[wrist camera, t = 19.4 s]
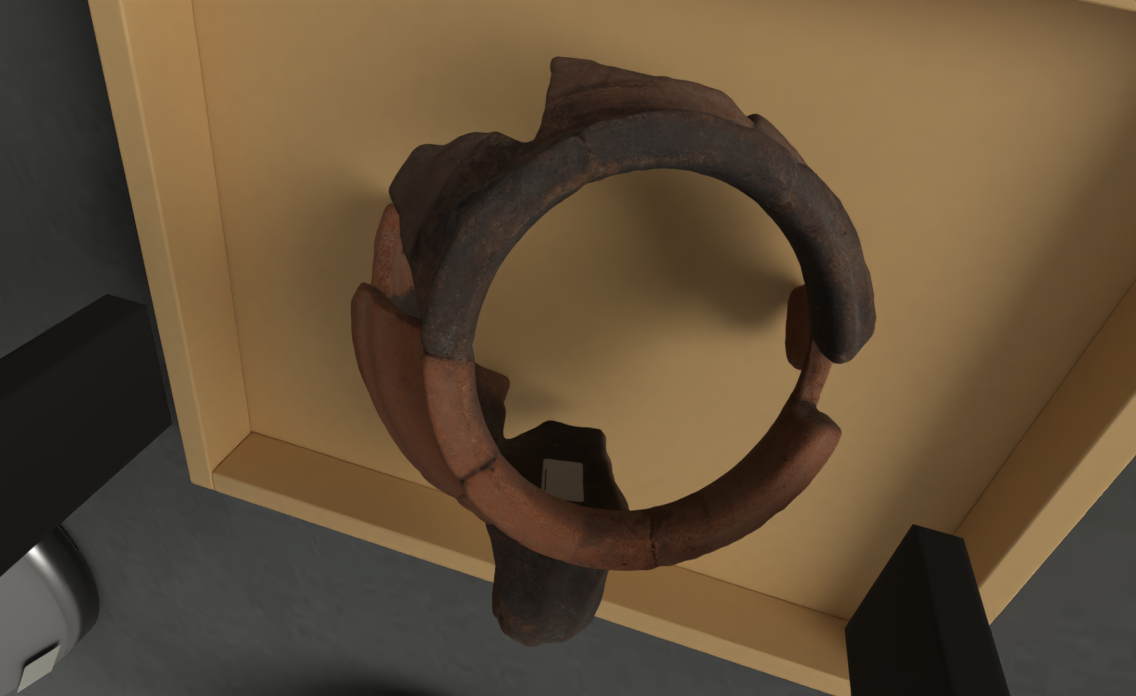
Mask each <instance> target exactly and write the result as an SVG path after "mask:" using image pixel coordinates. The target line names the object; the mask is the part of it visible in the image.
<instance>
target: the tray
mask: <svg viewBox="0 0 1136 696" xmlns="http://www.w3.org/2000/svg"><path fill="white" fill-rule="evenodd" d="M88 4H89V9H90V13H91V18H92V23H93V27H94V32H95V37H96V41H97V46H98V51H99V55H100V60H101V65H102V69H103V74H104V79H105V83H106V88H107V93H108V97H109V102H110V106H111V111H112V116H113V120H114V125H115V130H116V134H117V139H118V144H119V148H120V153H121V158H122V162H123V167H124V172H125V176H126V181H127V186H128V190H129V195H130V200H131V204H132V209H133V214H134V218H135V223H136V228H137V232H138V237H139V242H140V246H141V251H142V256H143V260H144V265H145V270H146V274H147V279H148V283H149V288H150V293H151V297H152V302H153V307H154V311H155V316H156V321H157V325H158V330H159V335H160V339H161V344H162V349H163V353H164V358H165V363H166V367H167V372H168V377H169V381H170V386H171V391H172V395H173V400H174V405H175V409H176V414H177V419H178V423H179V428H180V433H181V437H182V442H183V446H184V451H185V456H186V460H187V465H188V470H189V474H190V479H191V482H192V483H194V484H197V485H200V486H203V487H206V488H209V489H212V490H213V489H215V490H216V491H218V492H221V493H224V494H227V495H230V496H233V497H236V498H239V499H242V500H245V501H248V502H251V503H254V504H257V505H260V506H263V507H266V508H269V509H272V510H275V511H278V512H281V513H284V514H288V515H291V516H294V517H297V518H300V519H303V520H306V521H309V522H312V523H315V524H318V525H321V526H324V527H327V528H330V529H333V530H336V531H339V532H342V533H345V534H348V535H351V536H354V537H357V538H360V539H363V540H366V541H369V542H372V543H375V544H378V545H381V546H384V547H387V548H390V549H393V550H396V551H399V552H402V553H405V554H408V555H411V556H414V557H418V558H421V559H424V560H427V561H430V562H433V563H436V564H439V565H442V566H445V567H448V568H451V569H454V570H457V571H460V572H463V573H466V574H469V575H472V576H475V577H478V578H481V579H484V580H487V581H490V582H493V583H494V573H495V560H494V556H493V550H492V545H491V540H490V537H489V534H488V532H487V529H486V524H485V522H483V521H482V520H480V519H479V518H478V517H477V516H476V515H475V514H474V513H473V512H471V511H469V510H467V509H466V508H464V507H463V506H462V505H460V504H459V503H458V501H457V499H455V498H454V497H451V496H449V495H447V494H446V493H444V492H443V491H441V490H439V489H437V488H436V487H434V486H433V485H431V484H430V483H429V482H428V481H426V480H425V479H424V477H423V476H422V475H421V473H420V471H418V470H417V469H416V468H415V467H414V466H413V465H412V464H411V463H410V462H409V461H408V460H407V458H406V457H405V456H404V455H403V453H402V452H401V451H400V449H399V448H398V446H397V445H396V444H395V442H394V441H393V439H392V437H391V436H390V434H389V433H388V431H387V429H386V427H385V425H384V424H383V422H382V421H381V419H380V417H379V415H378V413H377V411H376V409H375V407H374V405H373V402H372V400H371V397H370V394H369V392H368V390H367V388H366V386H365V384H364V381H363V379H362V376H361V374H360V371H359V368H358V364H357V360H356V356H355V351H354V346H353V342H352V332H351V300H352V298H353V295H354V294H355V292H356V290H357V288H358V287H359V285H360V283H363V282H365V283H368V284H371V279H372V265H373V257H374V240H375V236H376V232H377V229H378V226H379V223H380V220H381V217H382V214H383V211H384V209H385V207H386V206H387V205H388V204H390V203H393V202H392V200H391V198H390V196H389V187H390V185H391V183H392V181H393V179H394V177H395V176H396V174H397V172H398V171H399V169H400V168H401V167H402V165H403V164H404V162H405V161H406V160H407V158H408V157H409V155H410V154H411V152H412V151H413V150H414V149H415V148H416V147H418V146H419V145H423V144H435V145H445V144H448V143H449V142H451V141H453V140H454V139H456V138H457V137H459V136H462V135H465V134H468V133H471V132H483V133H489V132H494V131H496V132H500V133H502V134H504V135H506V136H509V137H511V138H513V139H515V140H518V141H520V142H529V141H532V140H533V139H534V138H535V136H536V134H537V132H538V130H539V128H540V125H541V121H542V116H543V113H544V110H545V103H546V93H547V90H548V87H549V84H550V78H551V71H550V63H551V60H552V59H553V58H554V57H557V56H559V57H570V58H579V59H587V60H593V61H595V62H597V63H599V64H603V65H606V66H613V67H618V68H621V69H626V70H630V71H635V72H639V73H643V74H648V75H652V76H667V77H670V78H673V79H680V80H688V81H691V82H696V83H699V84H702V85H705V86H708V87H711V88H714V89H718V90H720V91H722V92H724V93H725V94H727V95H728V96H729V97H730V98H731V99H732V100H733V101H734V102H735V103H736V105H737V106H738V107H739V109H740V110H741V111H742V112H743V113H744V114H745V115H746V116H748V115H751V114H759V115H761V116H763V117H765V118H766V119H767V120H768V121H769V122H770V123H771V124H772V125H774V126H775V127H776V128H777V129H778V130H779V132H780V133H781V134H782V135H783V136H784V137H785V138H786V139H787V140H788V142H789V143H790V144H791V145H792V146H793V147H794V148H795V149H796V150H797V151H798V153H799V154H800V155H801V156H802V158H803V159H804V161H805V162H806V164H807V165H808V167H810V168H811V169H812V170H813V171H814V172H815V173H816V174H817V175H818V176H819V177H820V178H821V179H822V180H823V181H824V182H825V183H826V184H827V186H828V187H829V188H830V189H831V191H832V192H833V193H834V194H835V195H836V196H837V197H838V198H839V199H840V200H841V203H842V205H843V207H844V209H845V210H846V212H847V213H848V215H849V217H850V219H851V221H852V223H853V225H854V227H855V229H856V231H857V234H858V236H859V239H860V243H861V247H862V251H863V255H864V260H865V262H866V265H867V267H868V269H869V271H870V275H871V280H872V286H873V291H874V304H875V311H876V323H875V330H874V334H873V335H872V337H871V338H870V339H869V341H868V342H867V343H866V344H865V345H864V346H863V347H862V348H861V350H860V351H859V352H858V353H857V355H856V356H855V357H854V358H853V359H852V360H851V361H849V362H846V363H843V364H835V363H833V365H832V367H831V369H830V372H829V375H828V377H827V380H826V382H825V385H824V387H823V390H822V392H821V394H820V399H819V401H818V404H817V409H818V410H819V411H820V412H823V413H825V414H826V415H828V416H829V417H830V418H831V419H832V420H833V421H834V422H835V423H836V424H837V425H838V426H839V427H840V428H841V431H842V434H841V437H840V439H839V443H838V444H837V446H836V448H835V450H834V452H833V453H832V455H831V456H830V458H829V459H828V461H827V463H826V464H825V465H824V466H823V467H822V469H821V470H820V472H819V473H818V474H817V475H816V476H815V478H814V479H813V480H812V482H811V483H810V484H809V486H808V487H807V488H806V489H805V490H804V491H803V492H802V493H801V494H800V495H798V496H797V497H796V498H795V499H794V500H793V501H792V502H791V503H790V504H789V505H788V506H787V507H786V508H785V509H784V510H782V511H780V512H778V513H777V514H775V515H774V516H773V517H772V518H771V519H769V520H768V521H767V522H766V523H765V524H764V525H763V526H762V527H761V528H759V529H757V530H756V531H754V532H752V533H750V534H748V535H746V536H745V537H743V538H742V539H740V540H738V541H736V542H734V543H732V544H730V545H728V546H726V547H722V548H720V549H718V550H716V551H714V552H711V553H709V554H705V555H703V556H701V557H699V558H697V559H693V560H688V561H684V562H681V563H678V564H675V565H672V566H660V567H656V568H655V569H652V570H637V571H612V570H609V572H608V574H607V578H606V582H605V587H604V593H603V597H602V600H601V603H600V605H599V608H598V610H597V611H596V613H595V616H596V617H599V618H602V619H605V620H608V621H611V622H614V623H617V624H620V625H623V626H626V627H629V628H632V629H635V630H638V631H641V632H644V633H647V634H650V635H653V636H656V637H659V638H662V639H665V640H668V641H671V642H675V643H678V644H681V645H684V646H687V647H690V648H693V649H696V650H699V651H702V652H705V653H708V654H711V655H714V656H717V657H720V658H723V659H726V660H729V661H732V662H735V663H738V664H741V665H744V666H747V667H750V668H753V669H756V670H759V671H762V672H765V673H768V674H771V675H774V676H777V677H780V678H783V679H786V680H789V681H792V682H795V683H798V684H801V685H805V686H808V687H811V688H814V689H817V690H820V691H823V692H826V693H829V694H832V695H835V696H851V690H850V680H849V670H848V660H847V649H846V639H845V629H844V628H845V627H846V625H847V624H848V622H849V621H850V619H851V618H852V616H853V614H854V613H855V611H856V610H857V608H858V607H859V605H860V604H861V602H862V601H863V599H864V598H865V596H866V595H867V593H868V592H869V590H870V588H871V587H872V585H873V584H874V582H875V581H876V579H877V578H878V576H879V575H880V573H881V572H882V570H883V569H884V567H885V565H886V564H887V562H888V561H889V559H890V558H891V556H892V555H893V553H894V552H895V550H896V549H897V547H898V546H899V544H900V543H901V541H902V539H903V538H904V536H905V535H906V533H907V532H908V530H909V529H910V527H911V526H912V524H915V525H918V526H922V527H925V528H929V529H933V530H936V531H940V532H943V533H947V534H950V535H954V536H957V537H961V538H964V542H965V545H966V548H967V552H968V555H969V558H970V562H971V565H972V569H973V572H974V575H975V579H976V582H977V585H978V589H979V592H980V596H981V599H982V602H983V606H984V609H985V613H986V616H987V619H988V623H989V625H990V624H991V623H992V622H993V621H994V619H995V618H996V617H997V616H998V615H999V614H1000V612H1001V611H1002V610H1003V609H1004V608H1005V607H1006V605H1007V604H1008V603H1009V602H1010V601H1011V600H1012V598H1013V597H1014V596H1015V595H1016V594H1017V593H1018V591H1019V590H1020V589H1021V588H1022V587H1023V586H1024V584H1025V583H1026V582H1027V581H1028V580H1029V579H1030V577H1031V576H1032V575H1033V574H1034V573H1035V572H1036V570H1037V569H1038V568H1039V567H1040V566H1041V565H1042V563H1043V562H1044V561H1045V560H1046V559H1047V558H1048V556H1049V555H1050V554H1051V553H1052V552H1053V551H1054V549H1055V548H1056V547H1057V546H1058V545H1059V544H1060V542H1061V541H1062V540H1063V539H1064V538H1065V537H1066V535H1067V534H1068V533H1069V532H1070V531H1071V530H1072V528H1073V527H1074V526H1075V525H1076V524H1077V523H1078V521H1079V520H1080V519H1081V518H1082V517H1083V516H1084V514H1085V513H1086V512H1087V511H1088V510H1089V509H1090V507H1091V506H1092V505H1093V504H1094V503H1095V502H1096V500H1097V499H1098V498H1099V497H1100V496H1101V495H1102V493H1103V492H1104V491H1105V490H1106V489H1107V488H1108V486H1109V485H1110V484H1111V483H1112V482H1113V481H1114V479H1115V478H1116V477H1117V476H1118V475H1119V474H1120V473H1121V471H1122V470H1123V469H1124V468H1125V467H1126V466H1127V464H1128V463H1129V462H1130V461H1131V460H1132V459H1133V457H1134V456H1135V455H1136V0H88ZM803 284H805V283H804V280H803V275H802V271H801V267H800V264H799V262H798V260H797V257H796V254H795V253H794V251H793V249H792V247H791V245H790V243H789V241H788V240H787V238H786V237H785V236H784V234H783V232H782V231H781V230H780V228H779V227H778V226H777V225H776V223H775V222H774V221H773V220H772V218H771V217H770V216H768V215H767V214H766V212H765V211H764V210H763V209H762V208H761V207H760V206H759V204H758V203H756V202H755V201H754V200H753V199H751V198H750V197H748V196H747V195H745V194H744V193H742V192H741V191H739V190H738V189H736V188H735V187H733V186H731V185H729V184H727V183H725V182H723V181H721V180H718V179H715V178H712V177H709V176H706V175H701V174H698V173H696V172H692V171H686V170H677V169H651V170H645V171H639V170H638V171H632V172H629V173H623V174H618V175H614V176H610V177H607V178H605V179H603V180H600V181H596V182H592V183H588V184H586V185H584V186H583V187H582V188H581V189H580V190H578V191H577V192H576V193H574V194H573V195H571V196H570V197H568V198H566V199H565V200H564V201H562V202H561V203H559V204H558V205H556V206H555V207H553V208H552V209H551V210H550V211H548V212H547V213H546V214H545V215H544V216H542V217H541V218H540V219H539V220H538V221H537V222H536V223H535V224H534V225H533V226H532V227H531V228H530V229H529V230H528V231H527V232H526V233H525V234H524V236H523V237H522V238H521V239H520V240H519V242H518V243H517V244H516V245H515V246H514V247H513V249H512V250H511V251H510V253H509V254H508V255H507V257H506V258H505V260H504V261H503V262H502V264H501V265H500V267H499V269H498V271H497V272H496V274H495V276H494V279H493V281H492V283H491V285H490V287H489V289H488V291H487V294H486V297H485V299H484V302H483V305H482V307H481V310H480V314H479V318H478V322H477V326H476V330H475V336H474V340H473V344H472V347H473V352H474V358H475V362H476V363H477V364H479V365H480V366H482V367H484V368H487V369H489V370H492V371H494V372H497V373H499V374H502V375H504V376H507V377H508V379H509V381H510V387H509V390H508V393H507V396H506V399H505V401H504V404H505V408H506V418H505V424H504V437H505V438H506V439H511V438H514V437H516V436H518V435H519V434H521V433H524V432H526V431H528V430H531V429H533V428H535V427H537V426H539V425H540V424H541V423H543V422H545V421H549V420H553V421H557V422H562V423H564V424H567V425H571V426H578V427H591V428H597V429H601V430H602V431H603V433H604V434H605V436H606V450H607V454H608V456H609V457H610V459H611V462H612V468H613V474H614V478H615V482H616V484H617V485H618V487H619V489H620V490H621V492H622V493H623V495H624V497H625V498H626V500H627V503H628V506H629V510H630V511H632V510H640V509H647V508H651V507H654V506H660V505H664V504H667V503H670V502H673V501H676V500H678V499H680V498H683V497H685V496H687V495H689V494H692V493H694V492H696V491H699V490H700V489H702V488H704V487H705V486H707V485H709V484H710V483H712V482H714V481H715V480H717V479H718V478H719V477H721V476H722V475H724V474H725V473H727V472H728V471H729V470H731V469H732V468H733V467H734V466H735V465H736V464H737V463H738V462H740V461H741V460H742V459H743V458H744V457H745V456H746V455H747V454H748V453H749V452H750V451H751V450H752V449H753V448H754V446H755V445H756V444H757V443H758V442H759V441H760V440H761V439H762V438H763V436H764V435H765V434H766V433H767V432H768V430H769V428H770V427H771V426H772V424H773V423H774V422H775V420H776V419H777V417H778V415H779V414H780V412H781V410H782V408H783V406H784V405H785V403H786V401H787V400H788V398H789V396H790V395H791V393H792V391H793V390H794V388H795V386H796V383H797V381H798V378H799V376H800V373H801V370H797V369H795V368H794V367H793V366H792V365H791V364H790V363H789V362H788V360H787V357H786V350H785V330H786V318H787V303H788V300H789V296H790V293H791V292H792V290H793V289H794V288H796V287H797V286H801V285H803Z"/></svg>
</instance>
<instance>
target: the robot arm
mask: <svg viewBox="0 0 1136 696" xmlns="http://www.w3.org/2000/svg"><path fill="white" fill-rule="evenodd" d="M171 424H172V422H171V418H170V413H169V408H168V404H167V399H166V394H165V390H164V385H163V381H162V376H161V371H160V367H159V362H158V358H157V353H156V348H155V344H154V339H153V334H152V330H151V325H150V321H149V316H148V311H147V307H146V305H144V304H140V303H137V302H133V301H130V300H126V299H123V298H119V297H116V296H112V295H109V294H106V295H104V296H103V297H101V298H99V299H98V300H96V301H95V302H93V303H91V304H90V305H88V306H86V307H85V308H83V309H81V310H80V311H78V312H76V313H75V314H73V315H72V316H70V317H68V318H67V319H65V320H63V321H62V322H60V323H58V324H57V325H55V326H53V327H52V328H50V329H49V330H47V331H45V332H44V333H42V334H40V335H39V336H37V337H35V338H34V339H32V340H30V341H29V342H27V343H26V344H24V345H22V346H21V347H19V348H17V349H16V350H14V351H12V352H11V353H9V354H7V355H6V356H4V357H3V358H1V359H0V696H5V695H6V694H8V693H9V692H11V691H12V690H13V689H15V688H16V687H18V686H19V689H18V692H20V691H21V690H23V689H24V688H26V687H27V686H29V685H30V684H32V683H33V682H35V681H37V680H38V679H40V678H41V677H43V676H44V675H46V674H47V673H49V672H50V671H52V668H53V665H54V664H56V663H58V662H59V661H61V660H62V659H63V658H64V657H65V656H66V655H67V654H68V653H69V652H70V650H71V649H72V648H73V647H74V646H75V645H76V644H77V643H78V642H79V641H80V640H81V639H82V638H83V637H84V636H85V635H86V633H87V632H88V631H89V630H90V629H91V628H92V627H93V625H94V624H95V622H96V620H97V618H98V613H99V599H98V594H97V590H96V587H95V584H94V581H93V578H92V576H91V574H90V572H89V570H88V568H87V566H86V564H85V562H84V560H83V559H82V557H81V555H80V554H79V552H78V551H77V549H76V548H75V546H74V545H73V543H72V542H71V541H70V539H69V538H68V537H67V535H66V534H65V533H64V532H63V530H62V529H61V528H60V527H59V526H58V525H59V524H60V523H61V522H63V521H64V520H65V519H66V518H67V517H68V516H69V515H70V514H72V513H73V512H74V511H75V510H76V509H77V508H78V507H79V506H81V505H82V504H83V503H84V502H85V501H86V500H87V499H88V498H90V497H91V496H92V495H93V494H94V493H95V492H96V491H97V490H98V489H100V488H101V487H102V486H103V485H104V484H105V483H106V482H107V481H109V480H110V479H111V478H112V477H113V476H114V475H115V474H116V473H118V472H119V471H120V470H121V469H122V468H123V467H124V466H125V465H127V464H128V463H129V462H130V461H131V460H132V459H133V458H134V457H135V456H137V455H138V454H139V453H140V452H141V451H142V450H143V449H144V448H146V447H147V446H148V445H149V444H150V443H151V442H152V441H153V440H155V439H156V438H157V437H158V436H159V435H160V434H161V433H162V432H164V431H165V430H166V429H167V428H168V427H169V426H170V425H171ZM844 629H845V639H846V649H847V660H848V670H849V680H850V690H851V696H1010V694H1009V690H1008V687H1007V684H1006V680H1005V677H1004V673H1003V670H1002V667H1001V663H1000V660H999V657H998V653H997V650H996V646H995V643H994V640H993V636H992V633H991V629H990V626H989V623H988V619H987V616H986V613H985V609H984V606H983V602H982V599H981V596H980V592H979V589H978V585H977V582H976V579H975V575H974V572H973V569H972V565H971V562H970V558H969V555H968V552H967V548H966V545H965V542H964V538H961V537H957V536H954V535H950V534H947V533H943V532H940V531H936V530H933V529H929V528H925V527H922V526H918V525H915V524H912V526H911V527H910V529H909V530H908V532H907V533H906V535H905V536H904V538H903V539H902V541H901V543H900V544H899V546H898V547H897V549H896V550H895V552H894V553H893V555H892V556H891V558H890V559H889V561H888V562H887V564H886V565H885V567H884V569H883V570H882V572H881V573H880V575H879V576H878V578H877V579H876V581H875V582H874V584H873V585H872V587H871V588H870V590H869V592H868V593H867V595H866V596H865V598H864V599H863V601H862V602H861V604H860V605H859V607H858V608H857V610H856V611H855V613H854V614H853V616H852V618H851V619H850V621H849V622H848V624H847V625H846V627H845V628H844ZM18 692H17V693H18Z"/></svg>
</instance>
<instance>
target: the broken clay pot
mask: <svg viewBox="0 0 1136 696" xmlns="http://www.w3.org/2000/svg"><path fill="white" fill-rule="evenodd" d="M550 71H551V78H550V84H549V87H548V90H547V93H546V103H545V110H544V113H543V116H542V121H541V125H540V128H539V130H538V132H537V134H536V136H535V138H534V139H533V140H532V141H529V142H520V141H518V140H515V139H513V138H511V137H509V136H506V135H504V134H502V133H500V132H496V131H494V132H489V133H483V132H471V133H468V134H465V135H462V136H459V137H457V138H456V139H454V140H453V141H451V142H449V143H448V144H445V145H435V144H423V145H419V146H418V147H416V148H415V149H414V150H413V151H412V152H411V154H410V155H409V157H408V158H407V160H406V161H405V162H404V164H403V165H402V167H401V168H400V169H399V171H398V172H397V174H396V176H395V177H394V179H393V181H392V183H391V185H390V187H389V196H390V198H391V200H392V202H393V203H390V204H388V205H387V206H386V207H385V209H384V211H383V214H382V217H381V220H380V223H379V226H378V229H377V232H376V236H375V240H374V257H373V265H372V279H371V284H368V283H365V282H363V283H360V285H359V287H358V288H357V290H356V292H355V294H354V295H353V298H352V300H351V332H352V342H353V346H354V351H355V356H356V360H357V364H358V368H359V371H360V374H361V376H362V379H363V381H364V384H365V386H366V388H367V390H368V392H369V394H370V397H371V400H372V402H373V405H374V407H375V409H376V411H377V413H378V415H379V417H380V419H381V421H382V422H383V424H384V425H385V427H386V429H387V431H388V433H389V434H390V436H391V437H392V439H393V441H394V442H395V444H396V445H397V446H398V448H399V449H400V451H401V452H402V453H403V455H404V456H405V457H406V458H407V460H408V461H409V462H410V463H411V464H412V465H413V466H414V467H415V468H416V469H417V470H418V471H420V473H421V475H422V476H423V477H424V479H425V480H426V481H428V482H429V483H430V484H431V485H433V486H434V487H436V488H437V489H439V490H441V491H443V492H444V493H446V494H447V495H449V496H451V497H454V498H455V499H457V501H458V503H459V504H460V505H462V506H463V507H464V508H466V509H467V510H469V511H471V512H473V513H474V514H475V515H476V516H477V517H478V518H479V519H480V520H482V521H483V522H485V524H486V529H487V532H488V534H489V537H490V540H491V545H492V550H493V556H494V560H495V573H494V584H493V591H492V610H493V614H494V616H495V617H496V618H497V620H498V623H499V625H500V627H501V630H502V631H503V632H504V634H506V635H507V636H509V637H510V638H512V639H513V640H515V641H517V642H519V643H520V644H522V645H524V646H528V647H533V646H537V645H541V644H545V643H563V642H566V641H567V640H569V639H571V638H572V637H574V636H575V635H577V634H578V633H580V632H581V631H583V630H584V629H585V628H586V627H587V626H588V625H589V624H590V623H591V621H592V619H593V618H594V616H595V613H596V611H597V610H598V608H599V605H600V603H601V600H602V597H603V593H604V587H605V582H606V578H607V574H608V572H609V570H612V571H637V570H652V569H655V568H656V567H660V566H672V565H675V564H678V563H681V562H684V561H688V560H693V559H697V558H699V557H701V556H703V555H705V554H709V553H711V552H714V551H716V550H718V549H720V548H722V547H726V546H728V545H730V544H732V543H734V542H736V541H738V540H740V539H742V538H743V537H745V536H746V535H748V534H750V533H752V532H754V531H756V530H757V529H759V528H761V527H762V526H763V525H764V524H765V523H766V522H767V521H768V520H769V519H771V518H772V517H773V516H774V515H775V514H777V513H778V512H780V511H782V510H784V509H785V508H786V507H787V506H788V505H789V504H790V503H791V502H792V501H793V500H794V499H795V498H796V497H797V496H798V495H800V494H801V493H802V492H803V491H804V490H805V489H806V488H807V487H808V486H809V484H810V483H811V482H812V480H813V479H814V478H815V476H816V475H817V474H818V473H819V472H820V470H821V469H822V467H823V466H824V465H825V464H826V463H827V461H828V459H829V458H830V456H831V455H832V453H833V452H834V450H835V448H836V446H837V444H838V443H839V439H840V437H841V434H842V431H841V428H840V427H839V426H838V425H837V424H836V423H835V422H834V421H833V420H832V419H831V418H830V417H829V416H828V415H826V414H825V413H823V412H820V411H819V410H818V409H817V404H818V401H819V399H820V394H821V392H822V390H823V387H824V385H825V382H826V380H827V377H828V375H829V372H830V369H831V367H832V365H833V363H835V364H843V363H846V362H849V361H851V360H852V359H853V358H854V357H855V356H856V355H857V353H858V352H859V351H860V350H861V348H862V347H863V346H864V345H865V344H866V343H867V342H868V341H869V339H870V338H871V337H872V335H873V334H874V330H875V323H876V311H875V304H874V291H873V286H872V280H871V275H870V271H869V269H868V267H867V265H866V262H865V260H864V255H863V251H862V247H861V243H860V239H859V236H858V234H857V231H856V229H855V227H854V225H853V223H852V221H851V219H850V217H849V215H848V213H847V212H846V210H845V209H844V207H843V205H842V203H841V200H840V199H839V198H838V197H837V196H836V195H835V194H834V193H833V192H832V191H831V189H830V188H829V187H828V186H827V184H826V183H825V182H824V181H823V180H822V179H821V178H820V177H819V176H818V175H817V174H816V173H815V172H814V171H813V170H812V169H811V168H810V167H808V165H807V164H806V162H805V161H804V159H803V158H802V156H801V155H800V154H799V153H798V151H797V150H796V149H795V148H794V147H793V146H792V145H791V144H790V143H789V142H788V140H787V139H786V138H785V137H784V136H783V135H782V134H781V133H780V132H779V130H778V129H777V128H776V127H775V126H774V125H772V124H771V123H770V122H769V121H768V120H767V119H766V118H765V117H763V116H761V115H759V114H751V115H748V116H746V115H745V114H744V113H743V112H742V111H741V110H740V109H739V107H738V106H737V105H736V103H735V102H734V101H733V100H732V99H731V98H730V97H729V96H728V95H727V94H725V93H724V92H722V91H720V90H718V89H714V88H711V87H708V86H705V85H702V84H699V83H696V82H691V81H688V80H680V79H673V78H670V77H667V76H652V75H648V74H643V73H639V72H635V71H630V70H626V69H621V68H618V67H613V66H606V65H603V64H599V63H597V62H595V61H593V60H587V59H579V58H570V57H559V56H557V57H554V58H553V59H552V60H551V63H550ZM651 169H677V170H686V171H692V172H696V173H698V174H701V175H706V176H709V177H712V178H715V179H718V180H721V181H723V182H725V183H727V184H729V185H731V186H733V187H735V188H736V189H738V190H739V191H741V192H742V193H744V194H745V195H747V196H748V197H750V198H751V199H753V200H754V201H755V202H756V203H758V204H759V206H760V207H761V208H762V209H763V210H764V211H765V212H766V214H767V215H768V216H770V217H771V218H772V220H773V221H774V222H775V223H776V225H777V226H778V227H779V228H780V230H781V231H782V232H783V234H784V236H785V237H786V238H787V240H788V241H789V243H790V245H791V247H792V249H793V251H794V253H795V254H796V257H797V260H798V262H799V264H800V267H801V271H802V275H803V280H804V283H805V284H803V285H801V286H797V287H796V288H794V289H793V290H792V292H791V293H790V296H789V300H788V303H787V318H786V330H785V350H786V357H787V360H788V362H789V363H790V364H791V365H792V366H793V367H794V368H795V369H797V370H801V373H800V376H799V378H798V381H797V383H796V386H795V388H794V390H793V391H792V393H791V395H790V396H789V398H788V400H787V401H786V403H785V405H784V406H783V408H782V410H781V412H780V414H779V415H778V417H777V419H776V420H775V422H774V423H773V424H772V426H771V427H770V428H769V430H768V432H767V433H766V434H765V435H764V436H763V438H762V439H761V440H760V441H759V442H758V443H757V444H756V445H755V446H754V448H753V449H752V450H751V451H750V452H749V453H748V454H747V455H746V456H745V457H744V458H743V459H742V460H741V461H740V462H738V463H737V464H736V465H735V466H734V467H733V468H732V469H731V470H729V471H728V472H727V473H725V474H724V475H722V476H721V477H719V478H718V479H717V480H715V481H714V482H712V483H710V484H709V485H707V486H705V487H704V488H702V489H700V490H699V491H696V492H694V493H692V494H689V495H687V496H685V497H683V498H680V499H678V500H676V501H673V502H670V503H667V504H664V505H660V506H654V507H651V508H647V509H640V510H632V511H630V510H629V506H628V503H627V500H626V498H625V497H624V495H623V493H622V492H621V490H620V489H619V487H618V485H617V484H616V482H615V478H614V474H613V468H612V462H611V459H610V457H609V456H608V454H607V450H606V436H605V434H604V433H603V431H602V430H601V429H597V428H591V427H578V426H571V425H567V424H564V423H562V422H557V421H553V420H549V421H545V422H543V423H541V424H540V425H539V426H537V427H535V428H533V429H531V430H528V431H526V432H524V433H521V434H519V435H518V436H516V437H514V438H511V439H506V438H505V437H504V424H505V418H506V408H505V404H504V401H505V399H506V396H507V393H508V390H509V387H510V381H509V379H508V377H507V376H504V375H502V374H499V373H497V372H494V371H492V370H489V369H487V368H484V367H482V366H480V365H479V364H477V363H476V362H475V358H474V352H473V347H472V344H473V340H474V336H475V330H476V326H477V322H478V318H479V314H480V310H481V307H482V305H483V302H484V299H485V297H486V294H487V291H488V289H489V287H490V285H491V283H492V281H493V279H494V276H495V274H496V272H497V271H498V269H499V267H500V265H501V264H502V262H503V261H504V260H505V258H506V257H507V255H508V254H509V253H510V251H511V250H512V249H513V247H514V246H515V245H516V244H517V243H518V242H519V240H520V239H521V238H522V237H523V236H524V234H525V233H526V232H527V231H528V230H529V229H530V228H531V227H532V226H533V225H534V224H535V223H536V222H537V221H538V220H539V219H540V218H541V217H542V216H544V215H545V214H546V213H547V212H548V211H550V210H551V209H552V208H553V207H555V206H556V205H558V204H559V203H561V202H562V201H564V200H565V199H566V198H568V197H570V196H571V195H573V194H574V193H576V192H577V191H578V190H580V189H581V188H582V187H583V186H584V185H586V184H588V183H592V182H596V181H600V180H603V179H605V178H607V177H610V176H614V175H618V174H623V173H629V172H632V171H638V170H639V171H645V170H651Z"/></svg>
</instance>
